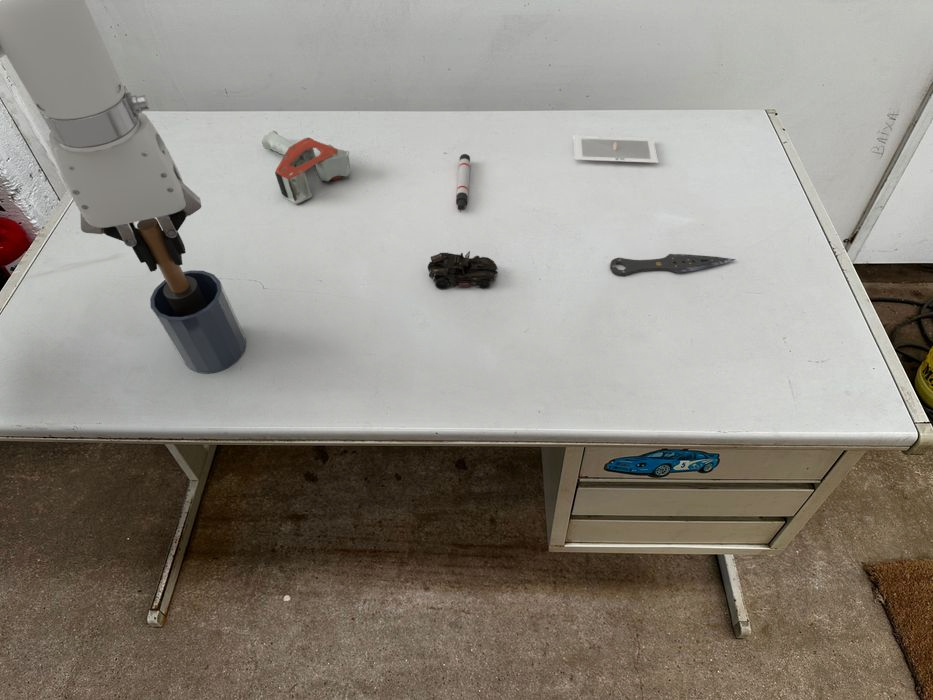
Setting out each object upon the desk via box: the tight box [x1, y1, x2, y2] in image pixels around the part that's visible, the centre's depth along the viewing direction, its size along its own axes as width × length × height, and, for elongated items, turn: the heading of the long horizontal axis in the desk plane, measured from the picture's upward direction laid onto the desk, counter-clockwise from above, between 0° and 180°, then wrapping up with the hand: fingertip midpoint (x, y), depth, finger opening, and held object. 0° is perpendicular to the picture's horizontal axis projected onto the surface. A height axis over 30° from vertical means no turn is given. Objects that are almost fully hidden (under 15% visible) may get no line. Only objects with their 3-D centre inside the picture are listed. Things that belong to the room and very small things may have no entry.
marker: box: [455, 153, 471, 213], centre depth 107 cm, size 15×2×2 cm, turn 178°
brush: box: [136, 218, 208, 317], centre depth 73 cm, size 4×4×15 cm
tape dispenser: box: [261, 130, 351, 205], centre depth 109 cm, size 18×5×20 cm
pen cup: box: [149, 269, 247, 374], centre depth 81 cm, size 9×9×11 cm
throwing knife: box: [609, 253, 737, 277], centre depth 94 cm, size 4×20×1 cm, turn 95°
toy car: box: [427, 250, 498, 290], centre depth 92 cm, size 6×12×4 cm, turn 85°
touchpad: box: [572, 134, 659, 164], centre depth 113 cm, size 8×15×2 cm, turn 86°
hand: (165, 259), depth 72 cm, fingers closed on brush, 2 cm apart
